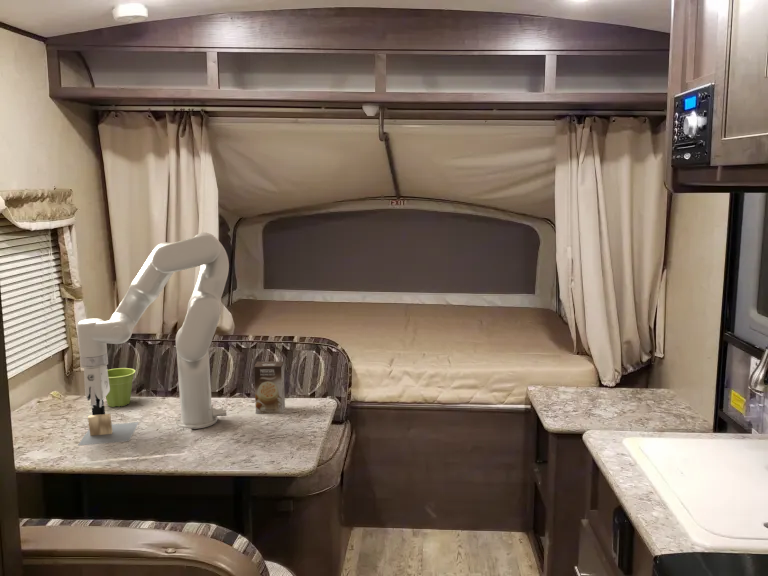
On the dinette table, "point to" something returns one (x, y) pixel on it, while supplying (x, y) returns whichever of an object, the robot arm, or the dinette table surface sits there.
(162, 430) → the dinette table surface
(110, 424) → the tile
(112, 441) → the mat
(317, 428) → the dinette table surface
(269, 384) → the coffee box
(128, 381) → the plant pot
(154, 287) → the robot arm
